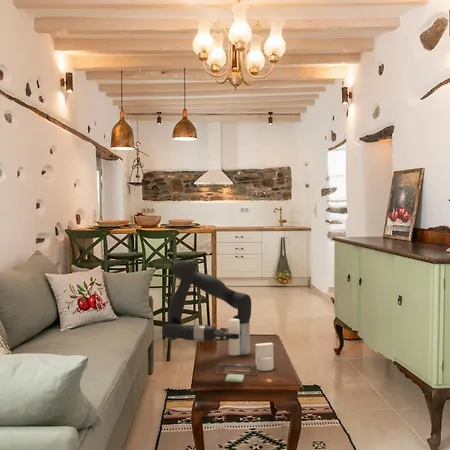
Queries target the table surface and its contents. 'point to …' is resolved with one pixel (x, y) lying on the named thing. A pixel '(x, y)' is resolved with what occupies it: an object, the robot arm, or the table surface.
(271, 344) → the cylinder with rectangular tab
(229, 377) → the sage mat
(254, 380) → the table surface
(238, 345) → the tall cream cylinder
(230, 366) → the metal rod
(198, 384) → the table surface
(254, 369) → the rail stand
